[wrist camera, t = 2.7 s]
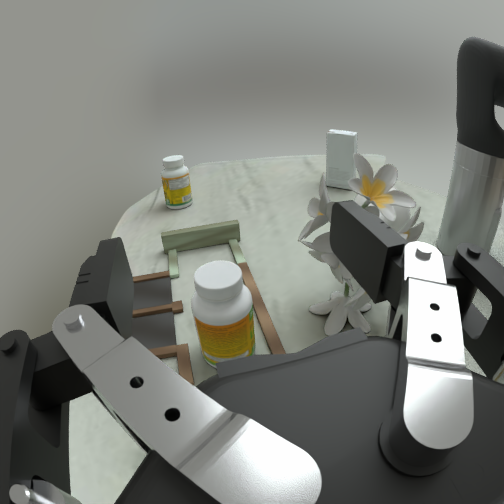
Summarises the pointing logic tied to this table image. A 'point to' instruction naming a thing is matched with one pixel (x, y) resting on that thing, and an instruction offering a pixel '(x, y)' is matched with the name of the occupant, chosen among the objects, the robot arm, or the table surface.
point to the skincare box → (340, 158)
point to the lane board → (160, 300)
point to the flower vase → (376, 202)
